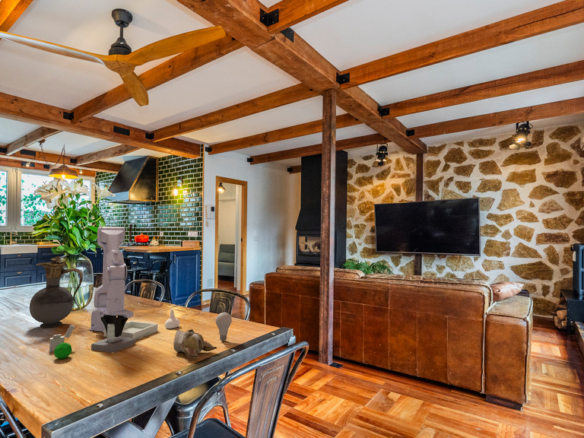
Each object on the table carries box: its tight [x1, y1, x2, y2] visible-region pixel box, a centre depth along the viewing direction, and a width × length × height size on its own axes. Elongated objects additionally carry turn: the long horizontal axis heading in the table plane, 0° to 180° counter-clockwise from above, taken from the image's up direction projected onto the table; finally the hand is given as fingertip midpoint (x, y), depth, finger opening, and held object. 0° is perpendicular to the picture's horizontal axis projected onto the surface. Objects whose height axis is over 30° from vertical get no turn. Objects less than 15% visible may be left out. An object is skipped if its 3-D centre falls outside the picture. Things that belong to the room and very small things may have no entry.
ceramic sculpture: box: [173, 328, 218, 359], centre depth 116 cm, size 11×9×15 cm
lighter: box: [48, 324, 76, 353], centre depth 119 cm, size 7×2×8 cm, turn 129°
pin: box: [107, 322, 121, 344], centre depth 122 cm, size 3×3×8 cm
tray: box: [103, 320, 159, 341], centre depth 137 cm, size 14×14×3 cm
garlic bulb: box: [164, 308, 181, 330], centre depth 148 cm, size 6×6×8 cm
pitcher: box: [28, 256, 84, 329], centre depth 148 cm, size 11×19×30 cm, turn 131°
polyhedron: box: [53, 342, 73, 360], centre depth 111 cm, size 5×5×5 cm
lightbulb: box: [215, 311, 233, 342], centre depth 130 cm, size 6×6×11 cm
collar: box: [90, 337, 136, 354], centre depth 122 cm, size 10×10×2 cm
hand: (114, 335), depth 122 cm, fingers closed on pin, 3 cm apart
